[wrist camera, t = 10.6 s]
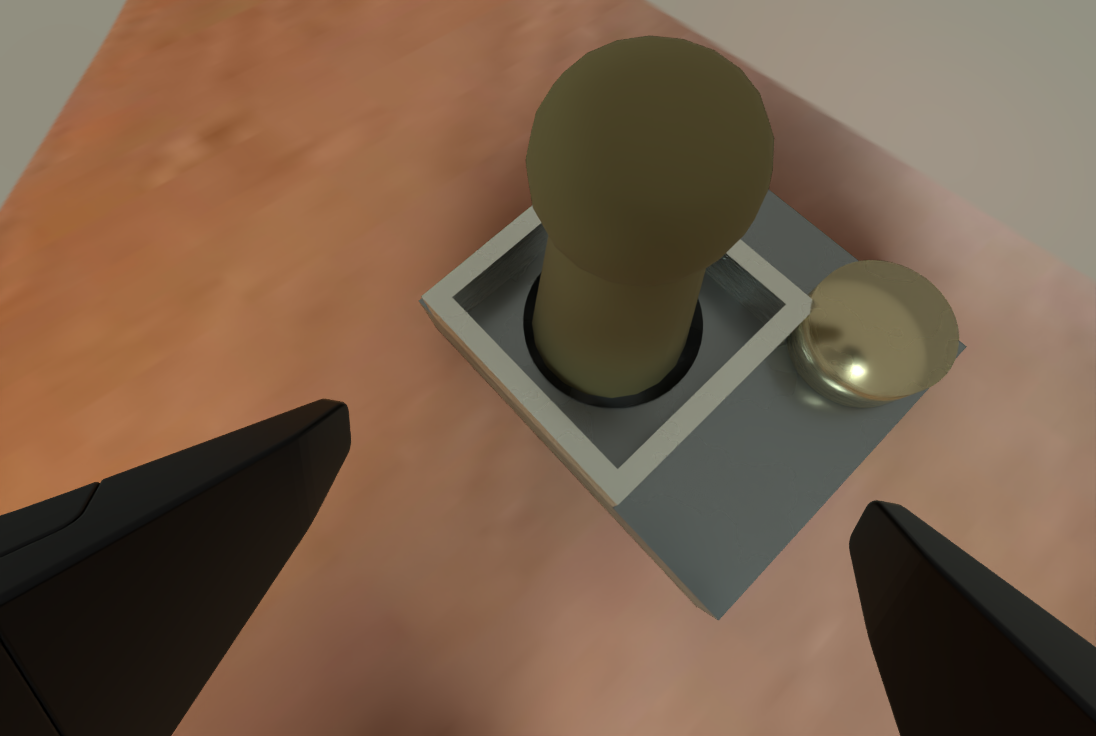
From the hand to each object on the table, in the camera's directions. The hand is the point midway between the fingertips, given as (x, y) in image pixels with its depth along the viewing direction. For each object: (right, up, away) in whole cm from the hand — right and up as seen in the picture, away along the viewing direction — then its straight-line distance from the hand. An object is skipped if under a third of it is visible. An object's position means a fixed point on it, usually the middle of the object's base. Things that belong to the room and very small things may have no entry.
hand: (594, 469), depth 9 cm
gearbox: (+5, +3, +14) cm, 15 cm away
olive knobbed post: (+2, +3, +11) cm, 12 cm away
